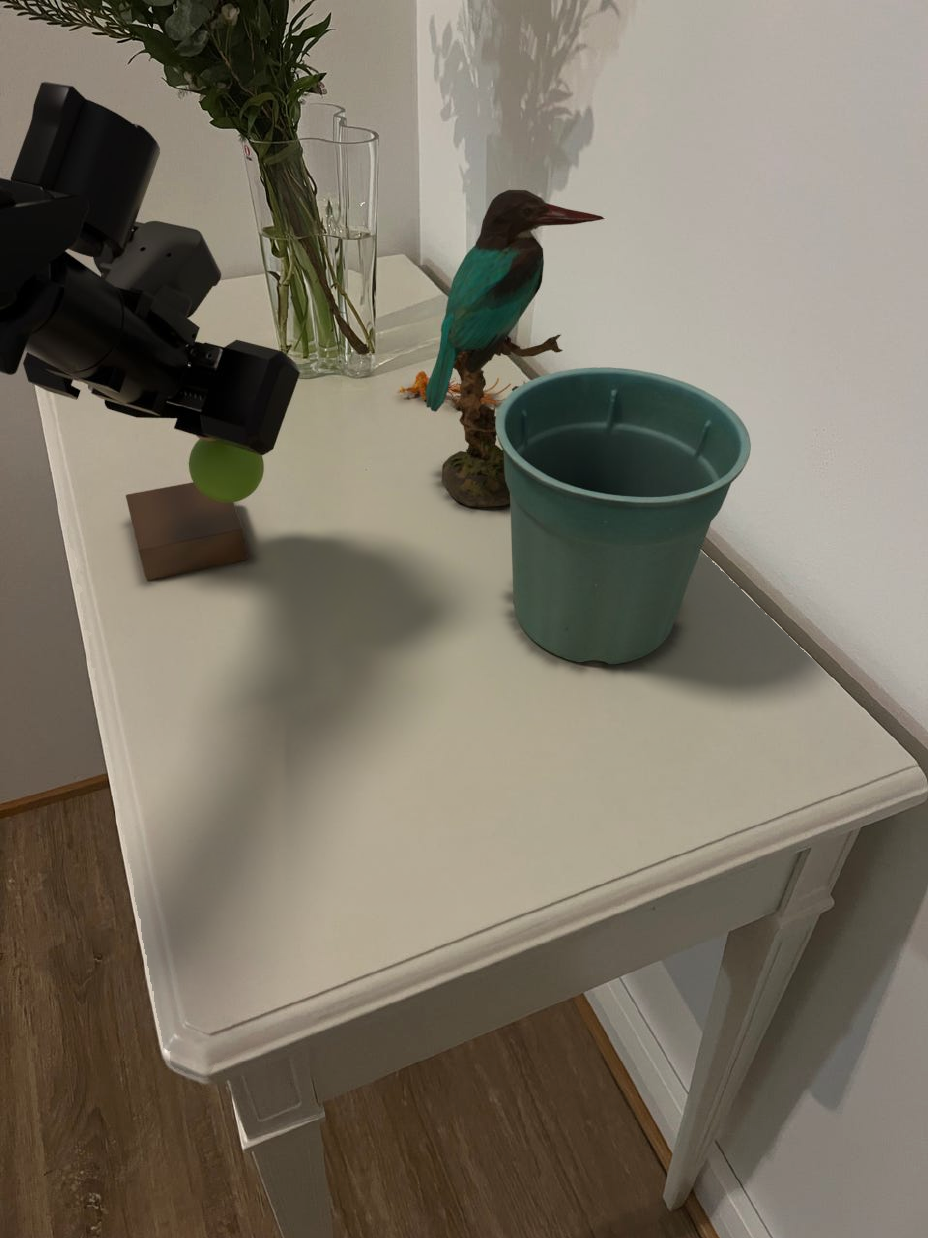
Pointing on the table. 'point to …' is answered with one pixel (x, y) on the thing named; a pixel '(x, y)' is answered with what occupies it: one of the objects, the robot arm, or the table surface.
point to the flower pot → (611, 503)
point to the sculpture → (490, 333)
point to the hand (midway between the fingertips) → (225, 414)
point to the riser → (184, 530)
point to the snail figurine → (224, 470)
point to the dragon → (423, 381)
